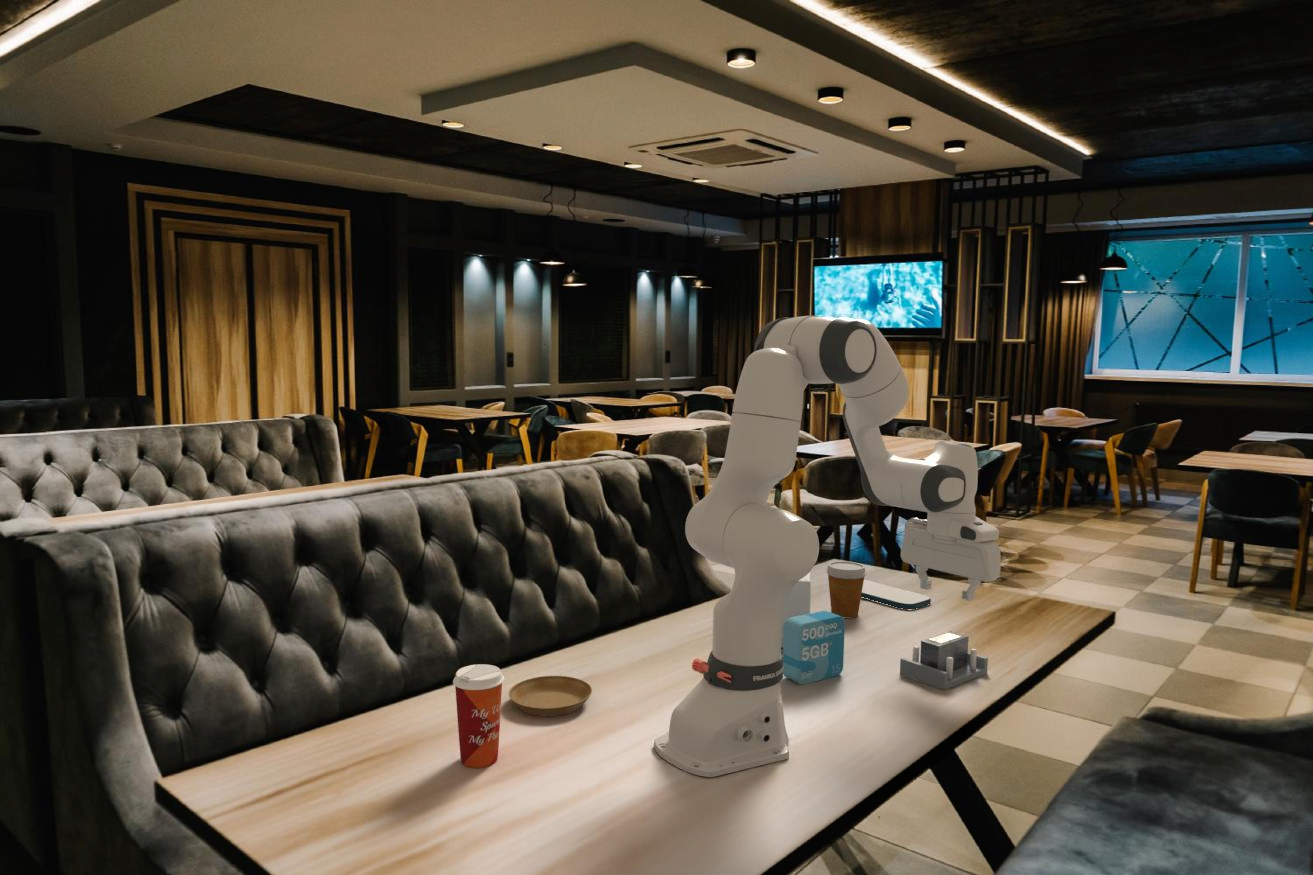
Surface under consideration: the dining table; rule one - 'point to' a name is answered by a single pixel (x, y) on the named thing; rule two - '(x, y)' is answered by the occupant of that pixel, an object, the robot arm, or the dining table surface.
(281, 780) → the dining table surface
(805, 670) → the data package
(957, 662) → the block
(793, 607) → the supplement box
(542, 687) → the plant saucer
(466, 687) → the paper cup
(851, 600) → the disposable coffee cup
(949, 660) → the tray
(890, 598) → the white teal rounded slab
